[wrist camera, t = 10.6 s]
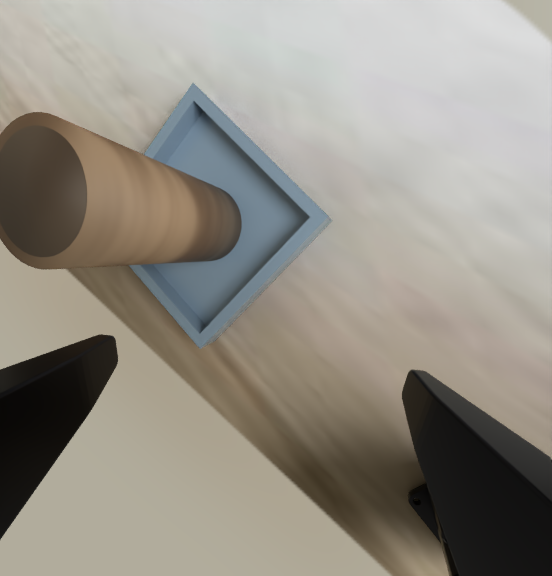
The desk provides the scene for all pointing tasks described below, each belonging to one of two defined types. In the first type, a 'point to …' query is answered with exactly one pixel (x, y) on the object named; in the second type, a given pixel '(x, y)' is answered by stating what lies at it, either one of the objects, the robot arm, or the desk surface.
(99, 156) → the cup
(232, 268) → the desk tray
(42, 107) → the desk surface
